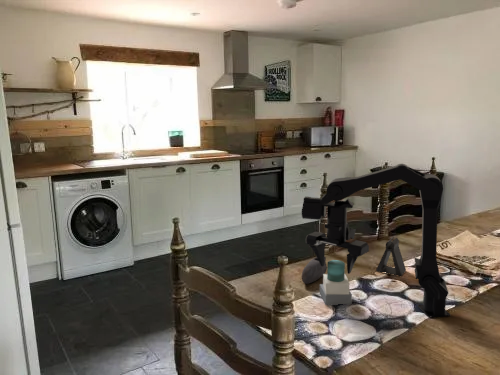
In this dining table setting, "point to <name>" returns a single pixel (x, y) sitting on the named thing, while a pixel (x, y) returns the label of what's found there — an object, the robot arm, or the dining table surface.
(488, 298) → the dining table surface
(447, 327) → the dining table surface
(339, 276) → the teal short cylinder
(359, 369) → the dining table surface
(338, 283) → the off-white top block
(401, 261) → the grey a-frame stand
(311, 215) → the robot arm
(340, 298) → the slate base block
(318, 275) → the perforated stone tool
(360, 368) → the dining table surface
